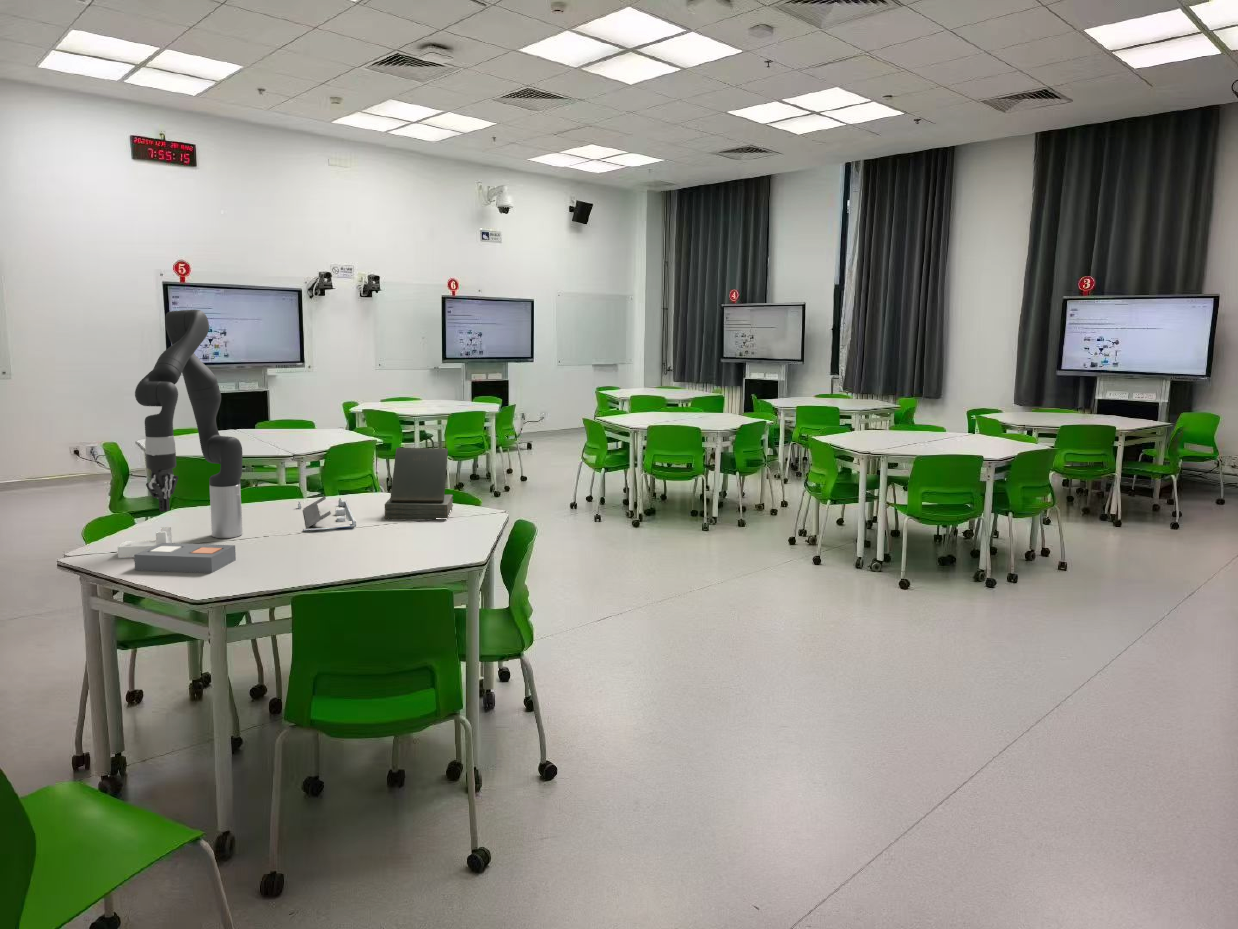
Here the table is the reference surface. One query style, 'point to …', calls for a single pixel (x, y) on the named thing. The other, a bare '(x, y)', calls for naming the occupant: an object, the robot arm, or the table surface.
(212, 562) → the key panel
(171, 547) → the off-white key
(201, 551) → the terracotta key
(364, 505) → the table surface
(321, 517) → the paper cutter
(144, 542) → the bracket
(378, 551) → the table surface
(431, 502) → the upright slab on base
